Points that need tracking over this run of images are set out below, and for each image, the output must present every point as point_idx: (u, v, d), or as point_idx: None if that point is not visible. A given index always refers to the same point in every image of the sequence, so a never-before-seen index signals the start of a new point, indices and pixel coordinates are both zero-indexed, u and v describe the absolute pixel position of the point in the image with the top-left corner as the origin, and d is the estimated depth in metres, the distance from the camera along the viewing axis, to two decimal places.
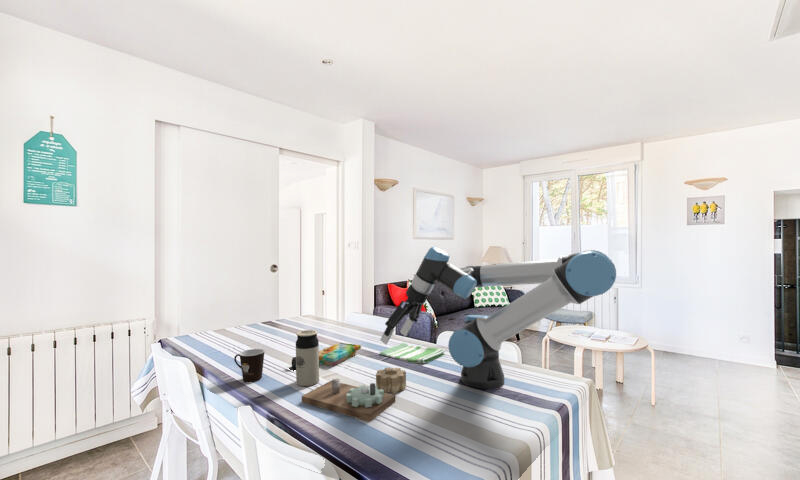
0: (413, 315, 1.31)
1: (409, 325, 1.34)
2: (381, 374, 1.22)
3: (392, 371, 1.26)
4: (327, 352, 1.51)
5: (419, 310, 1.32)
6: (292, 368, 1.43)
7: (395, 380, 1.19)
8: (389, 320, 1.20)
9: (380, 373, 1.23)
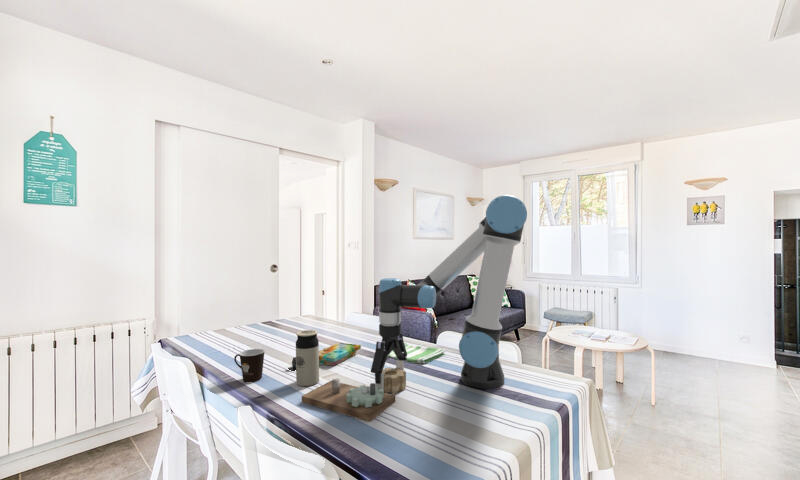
0: (399, 354, 1.28)
1: (401, 366, 1.29)
2: None
3: (392, 371, 1.26)
4: (327, 352, 1.51)
5: (403, 346, 1.29)
6: (292, 368, 1.43)
7: (395, 380, 1.19)
8: (373, 366, 1.16)
9: None
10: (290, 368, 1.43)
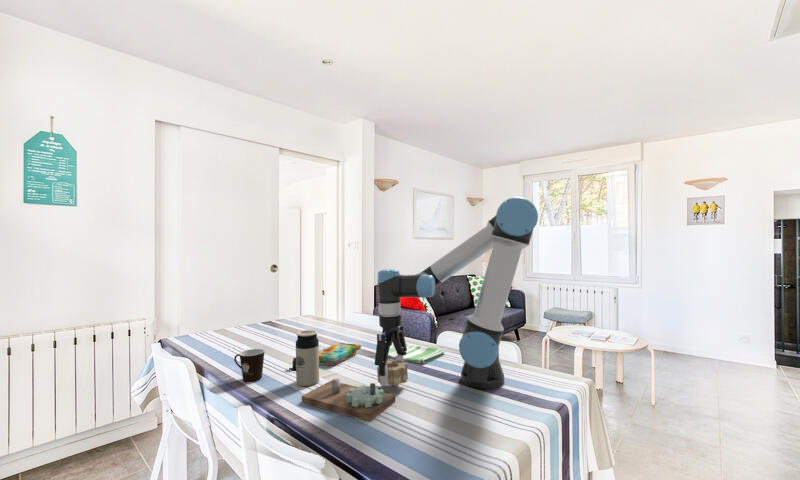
0: (399, 347, 1.27)
1: None
2: None
3: (393, 364, 1.25)
4: (327, 352, 1.51)
5: (403, 340, 1.28)
6: (293, 368, 1.42)
7: (396, 372, 1.18)
8: (376, 359, 1.16)
9: None
10: (291, 369, 1.42)
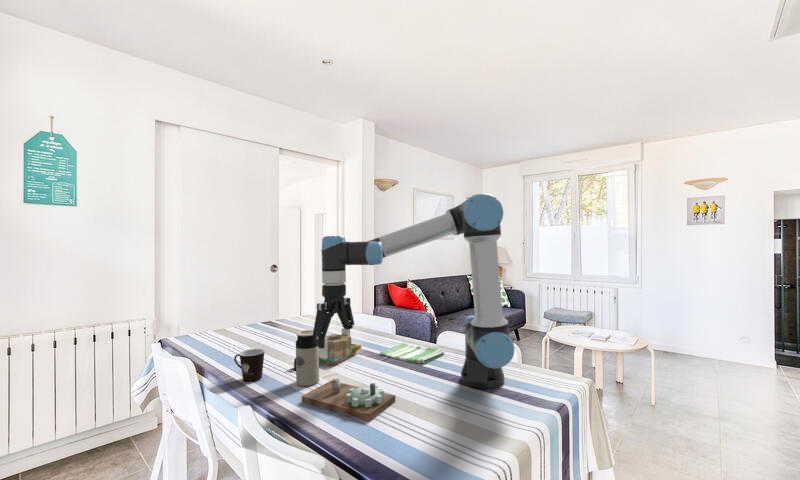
0: (344, 320, 1.18)
1: None
2: None
3: (337, 337, 1.17)
4: None
5: (349, 312, 1.20)
6: None
7: (337, 345, 1.10)
8: (314, 329, 1.08)
9: None
10: (293, 369, 1.42)
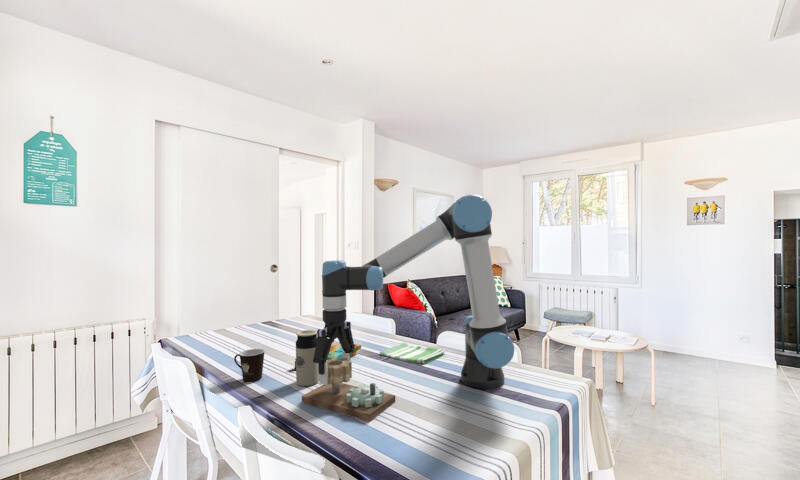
0: (345, 344, 1.18)
1: None
2: None
3: (338, 362, 1.17)
4: None
5: (350, 336, 1.20)
6: None
7: (337, 371, 1.10)
8: (315, 356, 1.08)
9: None
10: (295, 369, 1.41)
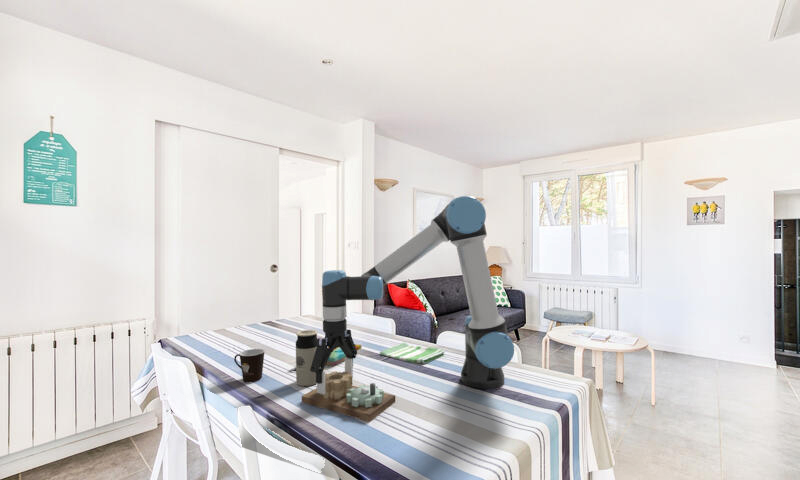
0: (347, 351, 1.19)
1: (349, 364, 1.20)
2: (325, 379, 1.13)
3: (338, 375, 1.17)
4: None
5: (351, 343, 1.21)
6: None
7: (338, 385, 1.10)
8: (312, 364, 1.07)
9: None
10: None
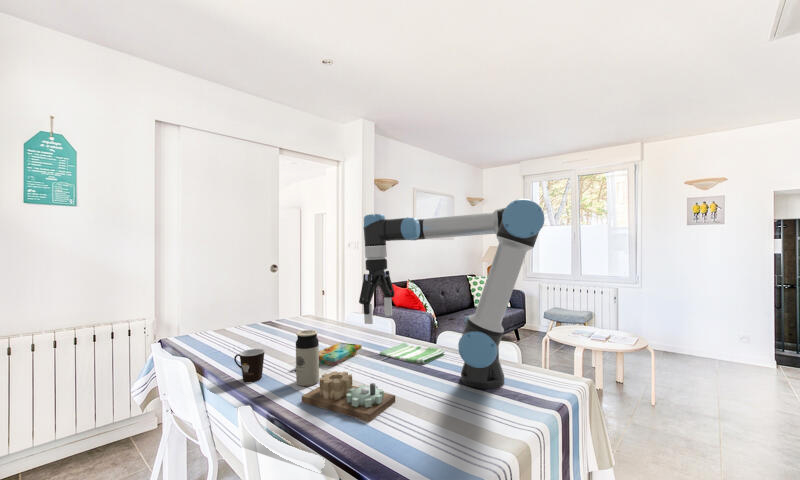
0: (386, 290, 1.29)
1: (389, 303, 1.30)
2: (325, 379, 1.13)
3: (338, 375, 1.17)
4: (328, 352, 1.51)
5: (390, 283, 1.31)
6: None
7: (338, 385, 1.10)
8: (361, 296, 1.17)
9: (324, 377, 1.14)
10: None
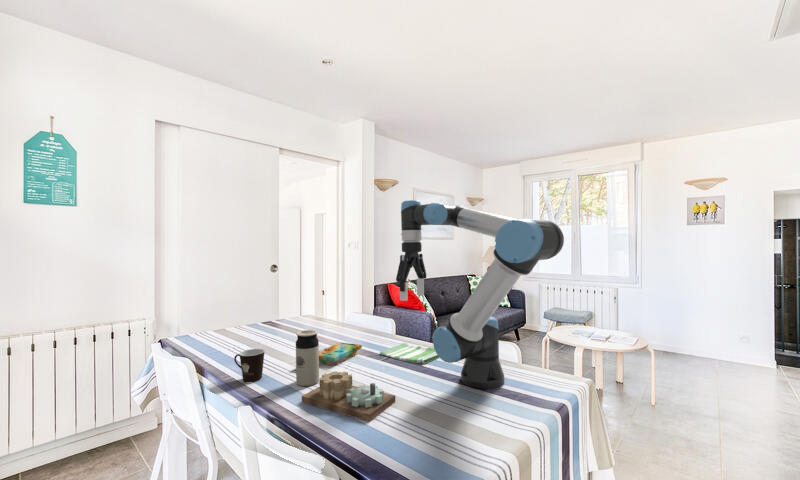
0: (419, 271, 1.40)
1: (421, 283, 1.41)
2: (325, 379, 1.13)
3: (338, 375, 1.17)
4: (328, 352, 1.51)
5: (423, 265, 1.42)
6: None
7: (338, 385, 1.10)
8: (398, 275, 1.28)
9: (324, 377, 1.14)
10: None
